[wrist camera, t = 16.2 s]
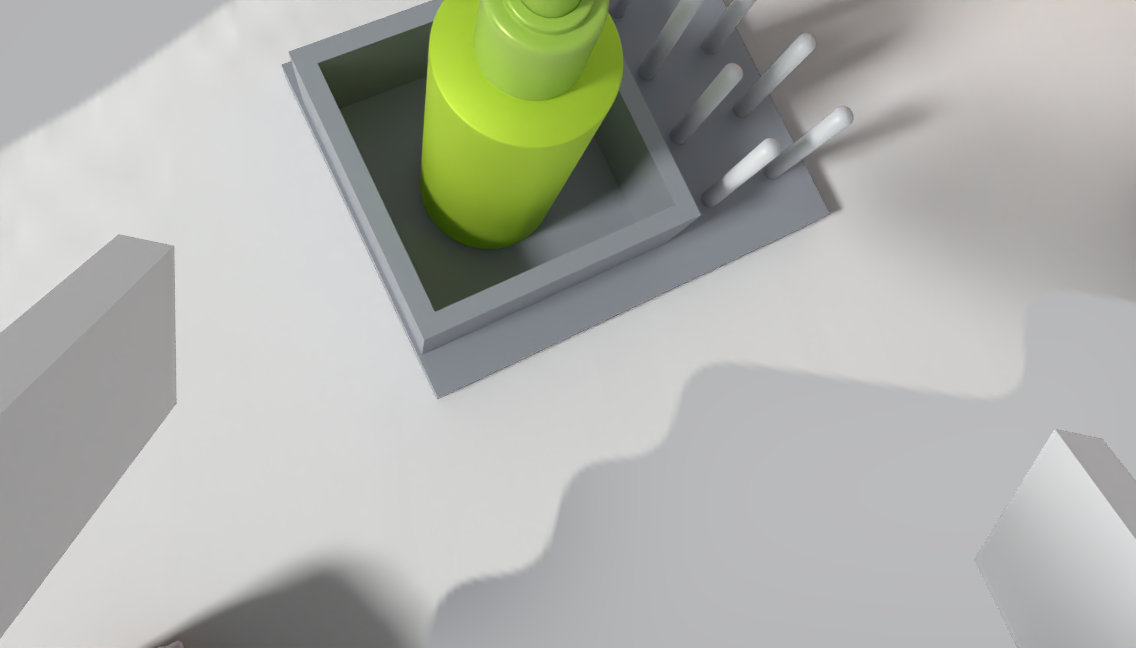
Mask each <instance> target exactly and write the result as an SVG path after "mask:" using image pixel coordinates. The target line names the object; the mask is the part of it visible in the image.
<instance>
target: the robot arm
mask: <svg viewBox="0 0 1136 648" xmlns="http://www.w3.org/2000/svg"><path fill="white" fill-rule="evenodd" d="M175 405H176V340H175V269H174V246H172V245H168V244H163V243H158V242H153V241H148V240H143V239H139V238H134V237H129V236H124V235H117V236H116V237H115V238H114V239H113V240H111V241H110V242H109V243H108V244H107V245H105V246H104V247H103V248H102V249H101V250H99V251H98V252H97V253H96V254H95V255H93V256H92V257H91V258H90V259H89V260H87V261H86V262H85V263H84V264H83V265H81V266H80V267H79V268H78V269H77V270H75V271H74V272H73V273H72V274H71V275H70V276H68V277H67V278H66V279H65V280H64V281H62V282H61V283H60V284H59V285H58V286H56V287H55V288H54V289H53V290H52V291H50V292H49V293H48V294H47V295H46V296H44V297H43V298H42V299H41V300H40V301H38V302H37V303H36V304H35V305H34V306H32V307H31V308H30V309H29V310H28V311H26V312H25V313H24V314H23V315H22V316H20V317H19V318H18V319H17V320H16V321H14V322H13V323H12V324H11V325H10V326H8V327H7V328H6V329H5V330H4V331H2V332H1V333H0V638H1V637H2V635H3V634H4V633H5V631H6V630H7V629H8V627H9V626H10V625H11V623H12V622H13V621H14V619H15V618H16V617H17V615H18V614H19V613H20V611H21V610H22V609H23V607H24V606H25V605H26V603H27V602H28V601H29V599H30V598H31V597H32V595H33V594H34V593H35V591H36V590H37V589H38V587H39V586H40V585H41V583H42V582H43V581H44V579H45V578H46V577H47V575H48V574H49V573H50V571H51V570H52V569H53V567H54V566H55V565H56V563H57V562H58V561H59V559H60V558H61V557H62V555H63V554H64V553H65V551H66V550H67V549H68V547H69V546H70V545H71V543H72V542H73V541H74V539H75V538H76V537H77V535H78V534H79V533H80V531H81V530H82V529H83V527H84V526H85V525H86V523H87V522H88V521H89V519H90V518H91V517H92V515H93V514H94V513H95V511H96V510H97V509H98V507H99V506H100V505H101V503H102V502H103V501H104V499H105V498H106V497H107V495H108V494H109V493H110V491H111V490H112V489H113V487H114V486H115V485H116V483H117V482H118V481H119V479H120V478H121V477H122V475H123V474H124V473H125V471H126V470H127V469H128V467H129V466H130V465H131V463H132V462H133V461H134V459H135V458H136V457H137V455H138V454H139V453H140V451H141V450H142V449H143V447H144V446H145V445H146V443H147V442H148V441H149V439H150V438H151V437H152V435H153V434H154V433H155V431H156V430H157V429H158V427H159V426H160V425H161V423H162V422H163V421H164V419H165V418H166V417H167V415H168V414H169V413H170V411H171V410H172V409H173V407H174V406H175ZM974 561H975V563H976V564H977V567H978V568H979V571H980V573H981V575H982V577H983V579H984V581H985V583H986V585H987V587H988V589H989V591H990V593H991V595H992V597H993V599H994V601H995V603H996V605H997V607H998V609H999V611H1000V613H1001V615H1002V617H1003V619H1004V621H1005V623H1006V625H1007V627H1008V629H1009V631H1010V634H1011V635H1012V638H1013V639H1014V641H1015V644H1016V646H1017V648H1136V480H1135V479H1134V478H1133V477H1132V475H1131V474H1130V473H1129V472H1128V470H1127V469H1126V468H1125V467H1124V465H1123V464H1122V463H1121V462H1120V460H1119V459H1118V458H1117V457H1116V455H1115V454H1114V453H1113V452H1112V450H1111V449H1110V448H1109V447H1108V445H1107V444H1106V443H1105V442H1104V440H1103V439H1101V438H1095V437H1091V436H1086V435H1081V434H1076V433H1071V432H1067V431H1062V430H1057V429H1054V431H1053V433H1052V434H1051V436H1050V437H1049V439H1048V441H1047V442H1046V444H1045V446H1044V447H1043V449H1042V450H1041V452H1040V454H1039V455H1038V457H1037V459H1036V460H1035V462H1034V463H1033V465H1032V466H1031V468H1030V470H1029V471H1028V473H1027V474H1026V476H1025V478H1024V479H1023V481H1022V483H1021V484H1020V486H1019V488H1018V489H1017V491H1016V492H1015V494H1014V495H1013V497H1012V499H1011V501H1010V502H1009V504H1008V505H1007V507H1006V508H1005V510H1004V512H1003V514H1002V515H1001V516H1000V518H999V520H998V522H997V523H996V525H995V526H994V528H993V529H992V531H991V533H990V534H989V536H988V537H987V539H986V541H985V542H984V544H983V545H982V547H981V549H980V550H979V552H978V554H977V555H976V557H975V559H974Z"/></svg>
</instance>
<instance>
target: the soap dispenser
mask: <svg viewBox="0 0 1136 648" xmlns="http://www.w3.org/2000/svg"><path fill="white" fill-rule="evenodd" d="M608 10H609V0H444V1H443V2H442V4H441V5H440V7H439V9H438V11H437V13H436V16H435V18H434V21H433V24H432V28H431V33H430V40H429V53H428V68H427V83H426V98H425V113H424V128H423V143H422V158H421V173H420V189H421V195H422V199H423V203H424V205H425V208H426V210H427V212H428V214H429V215H430V217H431V219H432V220H433V221H434V223H435V224H436V225H437V226H438V227H439V228H440V229H441V230H442V231H443V232H444V233H445V234H447V235H448V236H449V237H451V238H452V239H454V240H456V241H458V242H460V243H462V244H464V245H467V246H471V247H475V248H481V249H498V248H503V247H507V246H511V245H513V244H516V243H518V242H520V241H522V240H523V239H525V238H526V237H528V236H529V235H530V234H532V233H533V232H534V231H535V230H536V229H537V228H538V226H539V225H540V224H541V223H542V221H543V220H544V218H545V216H546V215H547V213H548V211H549V210H550V208H551V206H552V205H553V203H554V201H555V200H556V198H557V196H558V195H559V193H560V191H561V190H562V188H563V186H564V185H565V183H566V181H567V180H568V178H569V176H570V175H571V173H572V171H573V170H574V168H575V166H576V165H577V163H578V161H579V160H580V158H581V156H582V155H583V153H584V151H585V150H586V148H587V146H588V145H589V143H590V141H591V140H592V138H593V136H594V135H595V133H596V131H597V130H598V128H599V126H600V125H601V123H602V121H603V120H604V118H605V116H606V115H607V113H608V111H609V110H610V108H611V106H612V105H613V103H614V101H615V99H616V96H617V94H618V91H619V88H620V84H621V80H622V74H623V52H622V45H621V41H620V37H619V34H618V31H617V29H616V26H615V24H614V22H613V20H612V18H611V16H610V14H609V13H608Z"/></svg>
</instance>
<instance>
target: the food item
mask: <svg viewBox="0 0 1136 648" xmlns="http://www.w3.org/2000/svg"><path fill="white" fill-rule="evenodd" d="M157 648H184V645H183V643H182V642H180V641H178V640H177V641H175V642H173V643H172V644H170V645H168V646H167V647H157Z"/></svg>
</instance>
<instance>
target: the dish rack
mask: <svg viewBox="0 0 1136 648" xmlns="http://www.w3.org/2000/svg"><path fill="white" fill-rule="evenodd" d="M443 1H444V0H432V1H429V2H427V3H424V4H421V5H418V6H415V7H413V8H410V9H407V10H404V11H401V12H399V13H396V14H393V15H390V16H387V17H385V18H382V19H379V20H376V21H373V22H371V23H368V24H365V25H362V26H359V27H357V28H354V29H351V30H348V31H345V32H343V33H340V34H337V35H334V36H331V37H329V38H326V39H323V40H320V41H317V42H315V43H312V44H309V45H306V46H303V47H301V48H298V49H295V50H292V51H290V52H289V55H290V58H291V62H288V63H285V64H282V67H283V70H284V73H285V76H286V79H287V81H288V83H289V85H290V87H291V89H292V91H293V94H294V96H295V98H296V100H297V102H298V104H299V106H300V108H301V111H302V113H303V115H304V117H305V119H306V121H307V123H308V125H309V128H310V130H311V132H312V134H313V136H314V138H315V140H316V143H317V145H318V147H319V149H320V151H321V153H322V155H323V157H324V160H325V162H326V164H327V166H328V168H329V170H330V172H331V174H332V177H333V179H334V181H335V183H336V185H337V187H338V189H339V192H340V194H341V196H342V198H343V200H344V202H345V204H346V206H347V209H348V211H349V213H350V215H351V217H352V219H353V221H354V223H355V226H356V228H357V230H358V232H359V234H360V236H361V238H362V240H363V243H364V245H365V247H366V249H367V251H368V253H369V255H370V258H371V260H372V262H373V264H374V266H375V268H376V270H377V272H378V275H379V277H380V279H381V281H382V283H383V285H384V287H385V289H386V292H387V294H388V296H389V298H390V300H391V302H392V304H393V307H394V309H395V311H396V313H397V315H398V317H399V319H400V321H401V324H402V326H403V328H404V330H405V332H406V334H407V336H408V338H409V341H410V343H411V345H412V347H413V349H414V351H415V353H416V356H417V358H418V360H419V362H420V364H421V366H422V368H423V370H424V373H425V375H426V377H427V379H428V381H429V383H430V385H431V387H432V390H433V392H434V394H435V396H436V398H437V399H439V398H441V397H443V396H445V395H447V394H450V393H452V392H454V391H456V390H458V389H460V388H462V387H464V386H467V385H469V384H471V383H473V382H475V381H477V380H479V379H481V378H484V377H486V376H488V375H490V374H492V373H494V372H496V371H498V370H501V369H503V368H505V367H507V366H509V365H511V364H513V363H515V362H518V361H520V360H522V359H524V358H526V357H528V356H530V355H533V354H535V353H537V352H539V351H541V350H543V349H545V348H547V347H550V346H552V345H554V344H556V343H558V342H560V341H562V340H564V339H567V338H569V337H571V336H573V335H575V334H577V333H579V332H581V331H584V330H586V329H588V328H590V327H592V326H594V325H596V324H599V323H601V322H603V321H605V320H607V319H609V318H611V317H613V316H616V315H618V314H620V313H622V312H624V311H626V310H628V309H630V308H633V307H635V306H637V305H639V304H641V303H643V302H645V301H647V300H650V299H652V298H654V297H656V296H658V295H660V294H662V293H664V292H667V291H669V290H671V289H673V288H675V287H677V286H679V285H682V284H684V283H686V282H688V281H690V280H692V279H694V278H696V277H699V276H701V275H703V274H705V273H707V272H709V271H711V270H713V269H716V268H718V267H720V266H722V265H724V264H726V263H728V262H730V261H733V260H735V259H737V258H739V257H741V256H743V255H745V254H747V253H750V252H752V251H754V250H756V249H758V248H760V247H762V246H765V245H767V244H769V243H771V242H773V241H775V240H777V239H779V238H782V237H784V236H786V235H788V234H790V233H792V232H794V231H796V230H799V229H801V228H803V227H805V226H807V225H809V224H811V223H813V222H816V221H818V220H820V219H821V218H823V217H825V216H827V215H828V214H830V213H829V211H828V209H827V207H826V205H825V204H824V202H823V200H822V198H821V196H820V194H819V192H818V190H817V188H816V186H815V184H814V182H813V180H812V178H811V176H810V174H809V172H808V170H807V168H806V166H805V164H804V162H803V160H802V159H803V158H805V157H806V156H807V155H809V154H810V153H811V152H813V151H814V150H815V149H817V148H818V147H820V146H821V145H822V144H824V143H825V142H826V141H828V140H829V139H830V138H832V137H833V136H834V135H836V134H837V133H838V132H840V131H841V130H842V129H844V128H845V127H847V126H848V125H849V124H851V123H852V121H853V113H852V111H851V110H850V109H849V108H848V107H846V106H841V107H838V108H837V109H836V110H835V111H833V112H832V113H831V114H830V115H828V116H827V117H826V118H825V119H823V120H822V121H821V122H820V123H818V124H817V125H816V126H815V127H813V128H812V129H811V130H810V131H808V132H807V133H806V134H805V135H803V136H802V137H801V138H799V139H798V140H797V141H796V142H793V140H792V138H791V136H790V134H789V132H788V130H787V128H786V126H785V124H784V122H783V120H782V118H781V116H780V114H779V112H778V110H777V108H776V106H775V104H774V102H773V100H772V98H771V96H770V94H769V93H770V92H771V91H772V90H773V89H775V88H776V87H777V86H778V85H779V84H780V83H781V82H782V81H783V80H784V79H785V78H786V77H787V76H788V75H789V74H790V73H791V72H792V71H793V70H794V69H795V68H796V67H797V66H798V65H799V64H800V63H801V62H802V61H803V60H804V59H805V58H806V57H807V56H808V55H809V54H810V53H811V52H812V51H813V50H814V49H815V47H816V40H815V38H814V37H813V36H812V35H811V34H809V33H802V34H801V35H800V36H799V37H798V38H797V39H796V40H795V41H794V42H793V43H792V44H791V45H790V46H789V47H788V48H787V49H786V50H785V52H784V53H783V54H782V55H781V56H780V57H779V58H778V59H777V60H776V61H775V62H774V63H773V64H772V65H771V66H770V67H769V68H768V70H767V71H766V72H765V73H764V74H763V75H762V76H760V74H759V72H758V70H757V68H756V66H755V64H754V62H753V60H752V58H751V56H750V54H749V52H748V50H747V48H746V46H745V44H744V42H743V40H742V38H741V36H740V34H739V32H738V30H737V28H736V26H737V25H738V23H739V22H740V21H741V19H742V18H743V17H744V15H745V14H746V13H747V12H748V10H749V9H750V8H751V6H752V5H753V4H754V3H755V1H756V0H733V1H732V2H731V4H730V5H729V7H728V8H726V6H725V4H724V2H723V0H609V10H608V13H609V14H610V16H611V18H612V20H613V22H614V24H615V26H616V29H617V31H618V34H619V37H620V41H621V45H622V52H623V74H622V80H621V84H620V88H619V91H618V94H617V96H616V99H615V101H614V103H613V105H612V106H611V108H610V110H609V111H608V113H607V115H606V116H605V118H604V120H603V121H602V123H601V125H600V126H599V128H598V130H597V131H596V133H595V135H594V136H593V138H592V140H591V141H590V143H589V145H588V146H587V148H586V150H585V151H584V153H583V155H582V156H581V158H580V160H579V161H578V163H577V165H576V166H575V168H574V170H573V171H572V173H571V175H570V176H569V178H568V180H567V181H566V183H565V185H564V186H563V188H562V190H561V191H560V193H559V195H558V196H557V198H556V200H555V201H554V203H553V205H552V206H551V208H550V210H549V211H548V213H547V215H546V216H545V218H544V220H543V221H542V223H541V224H540V225H539V226H538V228H537V229H536V230H535V231H534V232H533V233H532V234H530V235H529V236H528V237H526V238H525V239H523V240H522V241H520V242H518V243H516V244H513V245H511V246H507V247H503V248H498V249H481V248H475V247H471V246H467V245H464V244H462V243H460V242H458V241H456V240H454V239H452V238H451V237H449V236H448V235H447V234H445V233H444V232H443V231H442V230H441V229H440V228H439V227H438V226H437V225H436V224H435V223H434V221H433V220H432V219H431V217H430V215H429V214H428V212H427V210H426V208H425V205H424V203H423V199H422V195H421V189H420V173H421V158H422V143H423V128H424V113H425V98H426V83H427V68H428V53H429V40H430V33H431V28H432V24H433V21H434V18H435V16H436V13H437V11H438V9H439V7H440V5H441V4H442V2H443Z"/></svg>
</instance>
